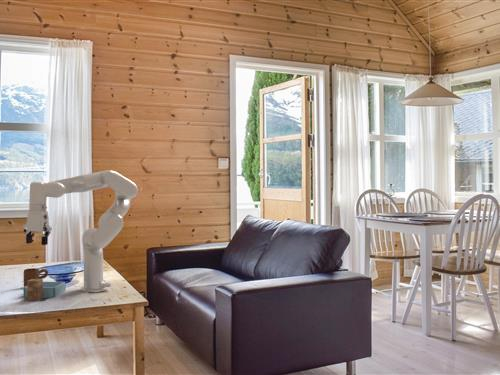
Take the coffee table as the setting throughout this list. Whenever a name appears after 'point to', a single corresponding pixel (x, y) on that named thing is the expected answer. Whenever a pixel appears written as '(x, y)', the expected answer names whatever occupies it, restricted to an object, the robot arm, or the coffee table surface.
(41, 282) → the brown cylinder
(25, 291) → the bin
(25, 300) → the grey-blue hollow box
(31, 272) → the mug
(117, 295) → the coffee table surface
